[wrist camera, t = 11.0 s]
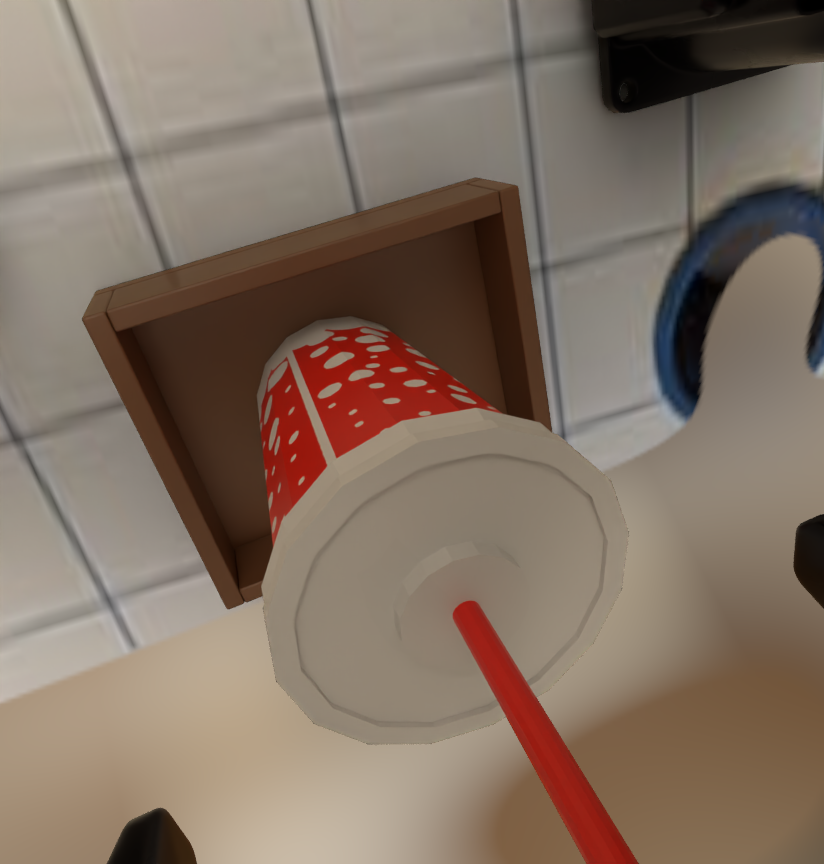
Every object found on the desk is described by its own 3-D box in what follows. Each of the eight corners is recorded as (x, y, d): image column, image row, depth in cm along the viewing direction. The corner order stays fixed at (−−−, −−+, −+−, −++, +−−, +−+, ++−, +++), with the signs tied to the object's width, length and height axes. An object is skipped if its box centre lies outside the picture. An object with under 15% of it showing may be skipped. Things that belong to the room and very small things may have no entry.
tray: (476, 176, 17) (519, 184, 15) (521, 443, 21) (559, 480, 19) (94, 291, 16) (80, 318, 13) (222, 557, 20) (227, 610, 17)
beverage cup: (326, 531, 20) (555, 1173, 8) (175, 393, 17) (159, 1110, 5) (483, 401, 20) (968, 852, 8) (359, 237, 16) (851, 557, 4)
